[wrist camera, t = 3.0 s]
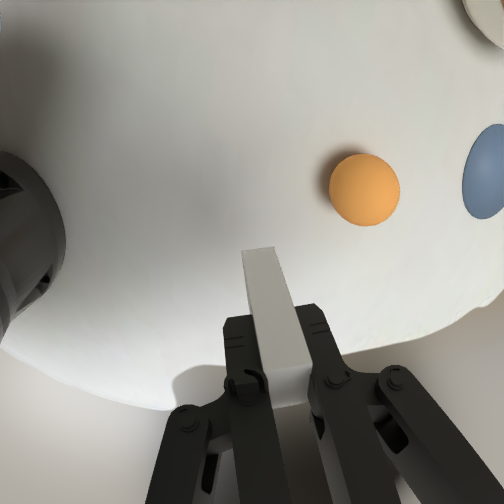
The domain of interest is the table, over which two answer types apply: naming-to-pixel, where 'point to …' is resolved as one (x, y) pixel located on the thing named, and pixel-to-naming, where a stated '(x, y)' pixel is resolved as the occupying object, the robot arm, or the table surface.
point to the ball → (364, 189)
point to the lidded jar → (487, 18)
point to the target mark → (485, 174)
